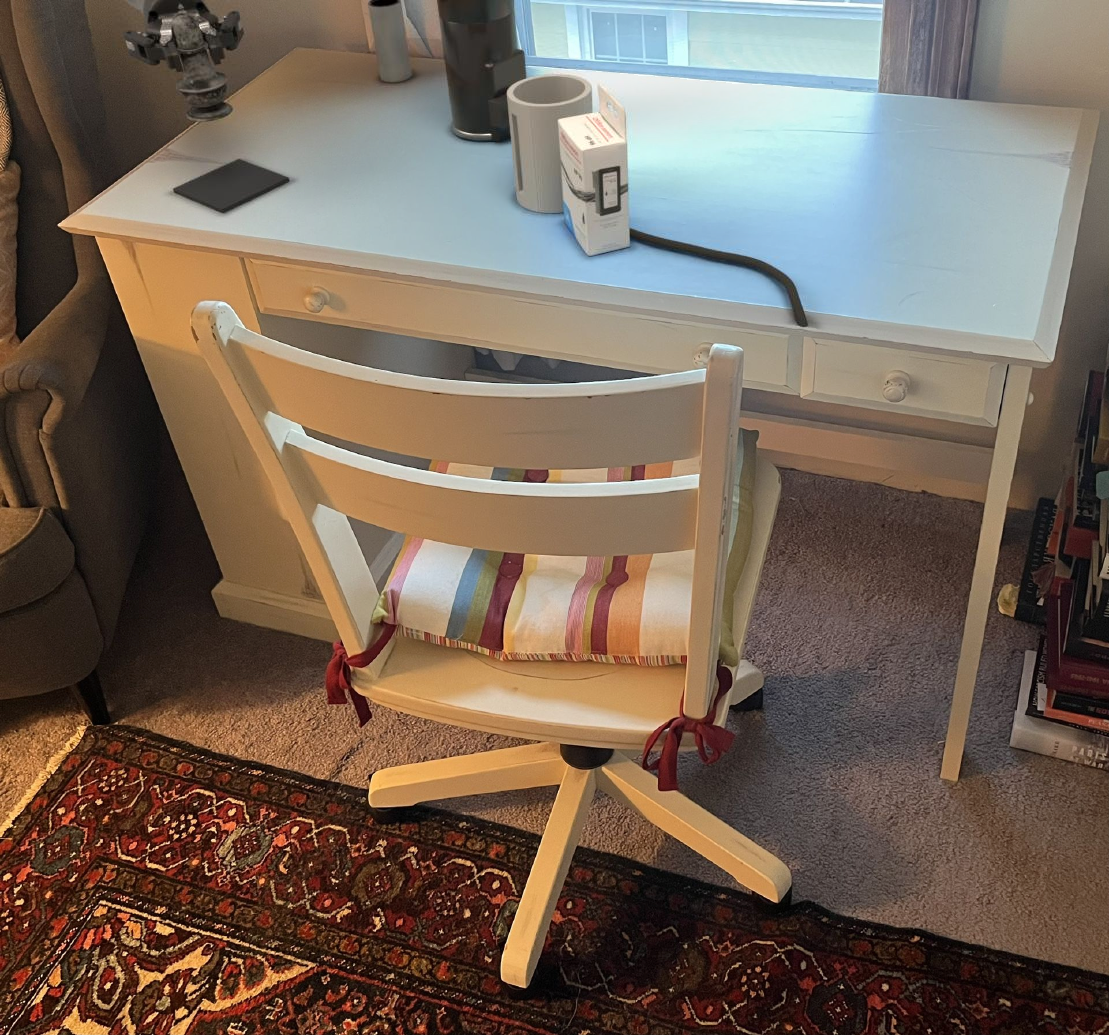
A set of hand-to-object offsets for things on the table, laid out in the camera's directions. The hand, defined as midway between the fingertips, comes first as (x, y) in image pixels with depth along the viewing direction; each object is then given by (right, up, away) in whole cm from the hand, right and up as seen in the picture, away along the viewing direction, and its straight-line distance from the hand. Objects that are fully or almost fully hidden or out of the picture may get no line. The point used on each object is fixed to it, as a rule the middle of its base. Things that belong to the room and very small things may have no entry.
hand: (197, 59), depth 120 cm
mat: (0, -10, +13) cm, 16 cm away
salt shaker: (-1, -4, +7) cm, 8 cm away
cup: (+40, -14, +5) cm, 42 cm away
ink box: (+44, -20, -2) cm, 48 cm away
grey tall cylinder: (+17, +13, +37) cm, 42 cm away
